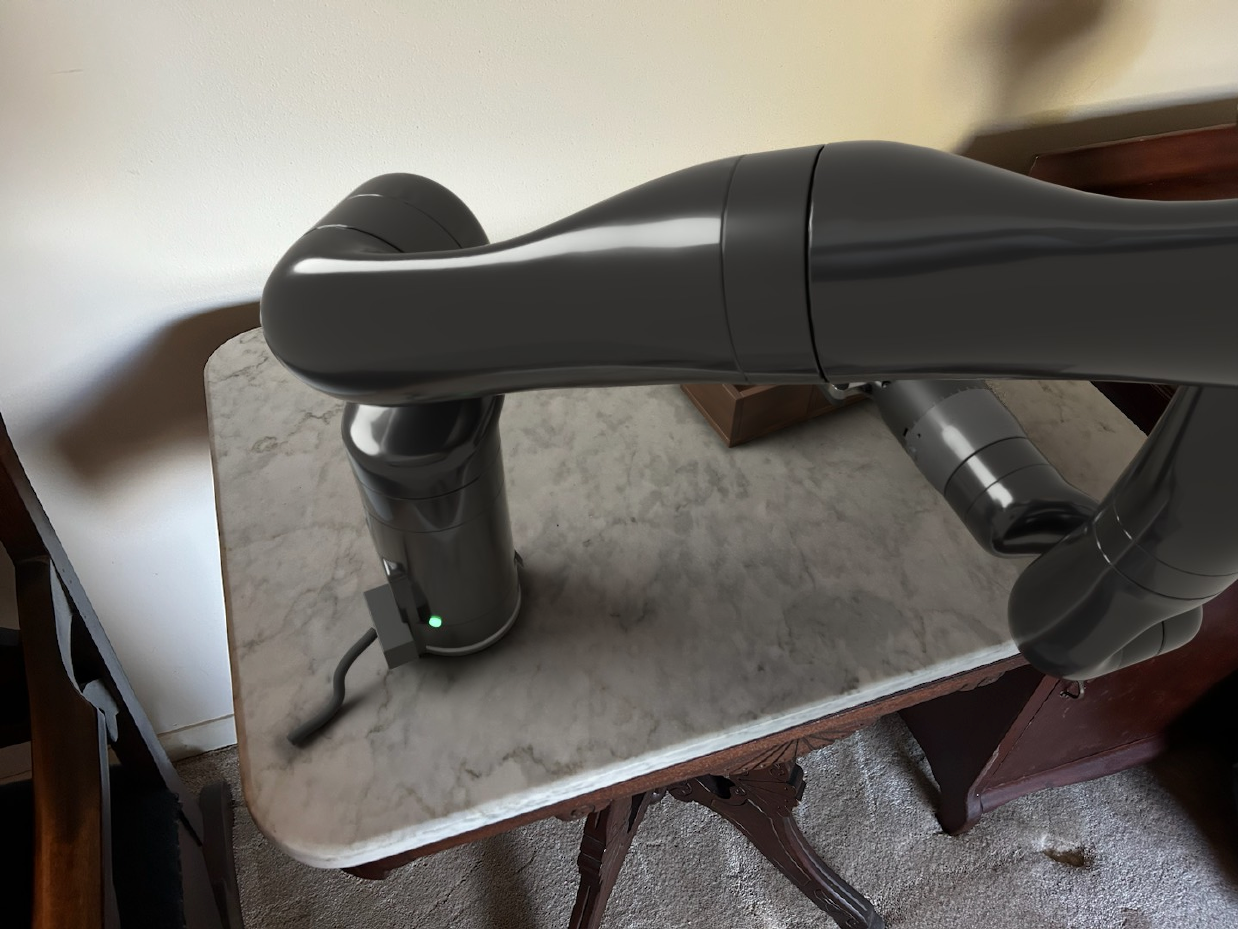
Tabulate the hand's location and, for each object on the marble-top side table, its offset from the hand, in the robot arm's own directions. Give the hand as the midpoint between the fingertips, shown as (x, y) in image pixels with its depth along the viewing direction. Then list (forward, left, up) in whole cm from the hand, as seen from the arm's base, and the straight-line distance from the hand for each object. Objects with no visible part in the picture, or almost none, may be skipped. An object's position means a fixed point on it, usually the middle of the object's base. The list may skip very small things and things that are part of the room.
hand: (853, 304), depth 73 cm
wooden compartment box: (-4, +3, -11) cm, 12 cm away
